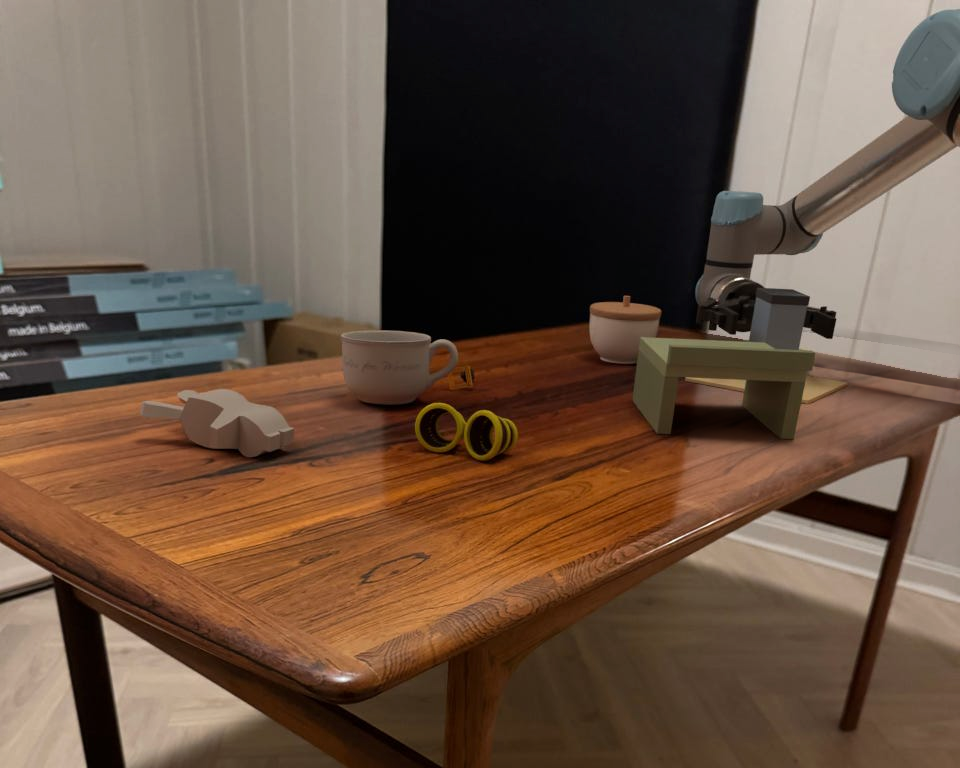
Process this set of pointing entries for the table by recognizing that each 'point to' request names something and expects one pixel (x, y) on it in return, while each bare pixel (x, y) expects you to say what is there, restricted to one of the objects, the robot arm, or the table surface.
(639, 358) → the stool
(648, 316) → the trinket box
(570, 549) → the table surface
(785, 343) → the dark-capped grey pillar
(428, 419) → the opera glasses
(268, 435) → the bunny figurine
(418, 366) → the teacup
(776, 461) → the table surface
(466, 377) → the framed picture
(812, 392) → the mat
